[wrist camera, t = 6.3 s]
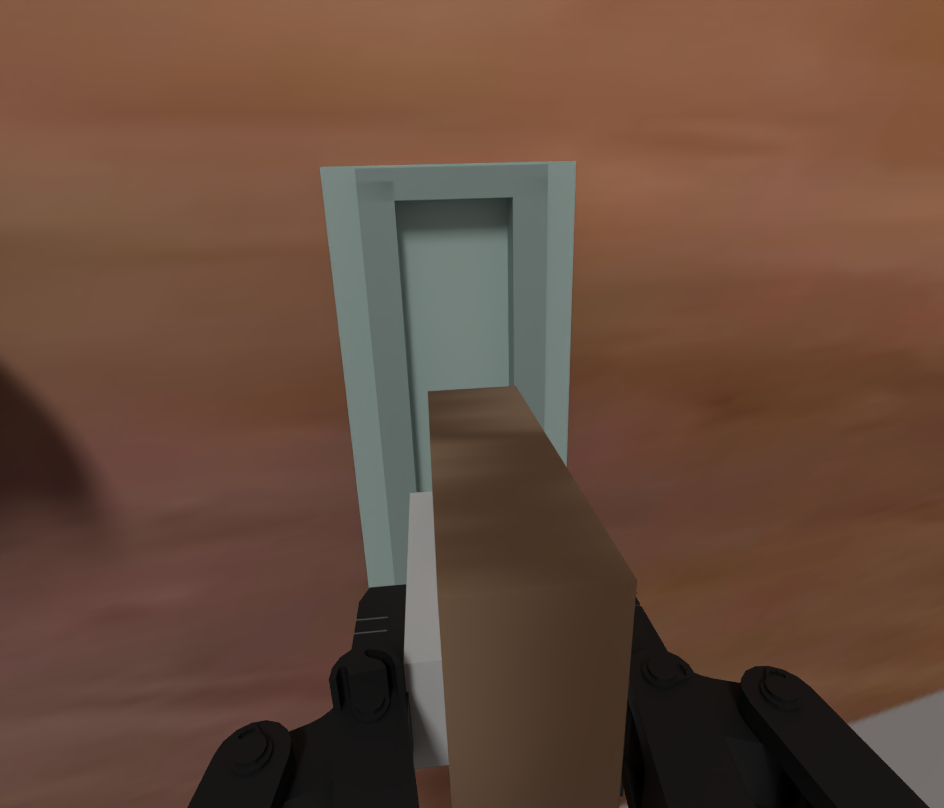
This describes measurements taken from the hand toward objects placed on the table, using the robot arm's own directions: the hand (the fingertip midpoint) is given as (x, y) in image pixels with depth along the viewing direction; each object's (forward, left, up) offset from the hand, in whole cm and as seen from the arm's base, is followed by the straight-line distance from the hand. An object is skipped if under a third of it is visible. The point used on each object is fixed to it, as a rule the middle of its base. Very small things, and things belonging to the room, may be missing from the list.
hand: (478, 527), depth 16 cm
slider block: (0, 0, 0) cm, 0 cm away
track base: (0, 0, -7) cm, 7 cm away
